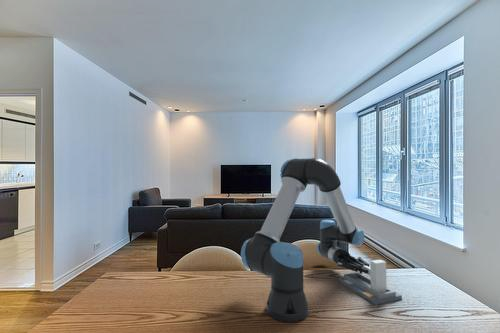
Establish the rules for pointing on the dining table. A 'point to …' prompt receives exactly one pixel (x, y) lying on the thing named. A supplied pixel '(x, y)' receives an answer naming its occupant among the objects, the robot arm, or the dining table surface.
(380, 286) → the switch tab
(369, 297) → the switch board
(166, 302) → the dining table surface
